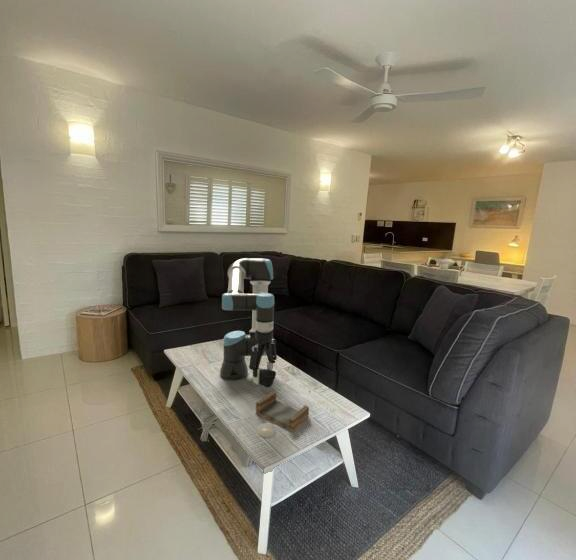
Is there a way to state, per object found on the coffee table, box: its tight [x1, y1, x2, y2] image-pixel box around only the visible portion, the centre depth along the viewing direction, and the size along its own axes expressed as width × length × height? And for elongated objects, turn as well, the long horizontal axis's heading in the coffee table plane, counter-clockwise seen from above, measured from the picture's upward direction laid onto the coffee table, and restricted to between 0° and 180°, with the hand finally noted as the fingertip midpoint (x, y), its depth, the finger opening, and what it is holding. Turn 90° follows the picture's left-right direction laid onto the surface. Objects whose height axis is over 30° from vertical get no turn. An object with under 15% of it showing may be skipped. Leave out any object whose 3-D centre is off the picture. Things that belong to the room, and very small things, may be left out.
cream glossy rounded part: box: [256, 422, 277, 438], centre depth 126 cm, size 8×8×1 cm
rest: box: [255, 390, 310, 433], centre depth 136 cm, size 20×12×5 cm, turn 54°
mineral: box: [252, 367, 277, 388], centre depth 132 cm, size 10×9×6 cm
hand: (262, 379), depth 135 cm, fingers closed on mineral, 8 cm apart
